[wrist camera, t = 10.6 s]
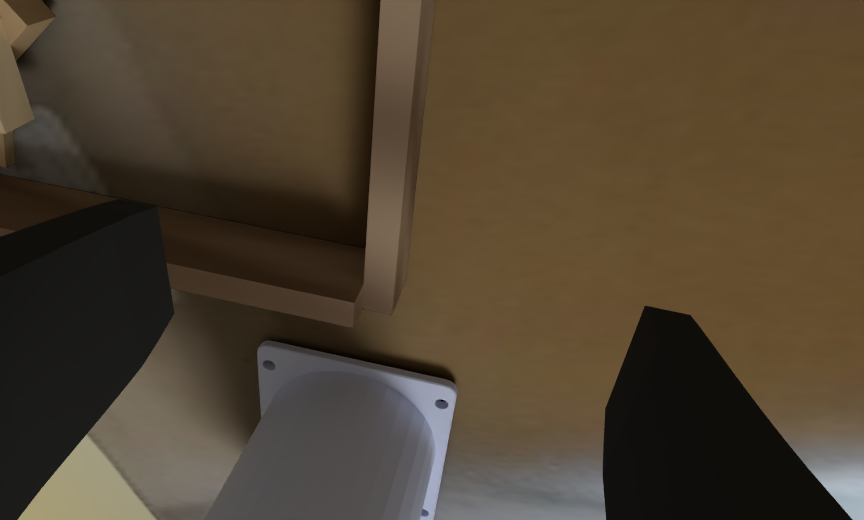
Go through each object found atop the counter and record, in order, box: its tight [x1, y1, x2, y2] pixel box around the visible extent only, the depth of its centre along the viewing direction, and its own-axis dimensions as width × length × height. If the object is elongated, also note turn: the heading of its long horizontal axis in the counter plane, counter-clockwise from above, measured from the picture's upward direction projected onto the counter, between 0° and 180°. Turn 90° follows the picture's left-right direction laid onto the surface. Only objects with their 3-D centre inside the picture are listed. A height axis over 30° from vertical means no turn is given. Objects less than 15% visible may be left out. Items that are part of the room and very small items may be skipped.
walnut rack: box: [0, 0, 436, 328], centre depth 18 cm, size 12×17×3 cm
